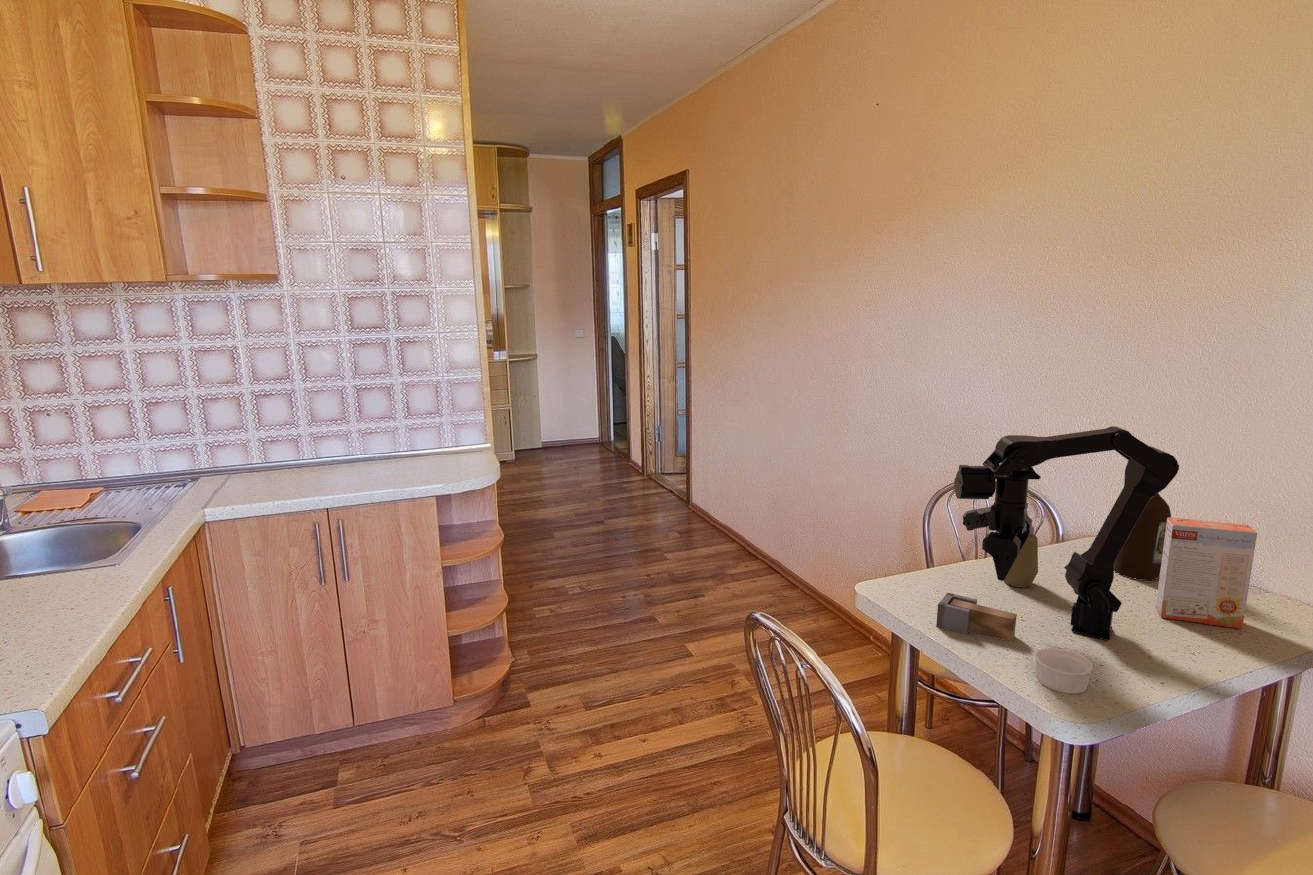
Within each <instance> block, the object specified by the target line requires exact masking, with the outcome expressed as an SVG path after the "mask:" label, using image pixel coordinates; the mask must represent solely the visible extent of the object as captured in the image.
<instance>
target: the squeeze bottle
mask: <svg viewBox="0 0 1313 875" xmlns="http://www.w3.org/2000/svg"><path fill="white" fill-rule="evenodd" d="M1026 515H1027V516H1029V514H1028V509H1027V510H1026ZM1024 531H1026V529H1025V530H1024ZM1034 532H1035V526H1034V525H1033V524H1032V529H1031V531H1030V534H1029V536H1028V538H1027V539H1026V541H1025V543H1024V545H1023V547H1022V549H1021V550H1020V552H1019V554H1018V556H1017V558H1016V560H1015V561H1014V563H1013V565H1012V567H1011V568H1010V570H1009V572H1008V574H1007V576H1006V578H1005V580H1004V581H1003V582H1004V583H1005V584H1007V585H1008V586H1013V587H1016V588H1028V587H1031V586H1032V584H1033V582H1034V581H1035V578H1036V576H1037V575H1038V572H1039V552H1038V550H1039V546H1038V542H1039V540H1038V536H1037V535H1036V534H1034Z"/></svg>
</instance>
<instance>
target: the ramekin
mask: <svg viewBox="0 0 1313 875" xmlns="http://www.w3.org/2000/svg"><path fill="white" fill-rule="evenodd" d="M1034 658H1035V668H1036V669H1035V674H1036V678H1037V680H1038V682H1039V683H1040V684H1042V685H1043V686H1044V687H1045V688H1048V689H1050V690H1053V691H1055V692H1059V693H1061V694H1062V693H1063V694H1068V695H1070V694H1071V695H1075V694H1077V695H1078V694H1081V693H1083V692H1085V691H1086V690H1087V689H1088V686H1089V682H1090V677H1091V674H1092V672H1093V669H1094V666H1093V664H1092V662H1091V661H1090V660H1089V659H1088V658H1086V656H1085V657H1084V656H1083V655H1081V654H1079V653H1076V652H1073V651H1071V650H1066V649H1063V648H1056V647H1055V648H1052V647H1050V648H1049V647H1048V648H1044V649H1043V648H1042V649H1039V650H1038V651H1036V652H1035V655H1034Z"/></svg>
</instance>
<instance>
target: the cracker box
mask: <svg viewBox="0 0 1313 875" xmlns="http://www.w3.org/2000/svg"><path fill="white" fill-rule="evenodd" d="M1257 536H1258V532H1257V531H1256V530H1255V529H1253V528H1252V526H1250V525H1249V524H1244V523H1243V524H1242V523H1231V522H1223V521H1221V522H1220V521H1213V520H1211V521H1209V520H1202V519H1201V520H1198V519H1189V518H1181V517H1180V518H1179V517H1171V518H1169V517H1168V518H1167V524H1166V532H1165V539H1164V547H1163V555H1162V563H1161V569H1160V575H1159V578H1158V579H1159V580H1158V587H1157V594H1156V604H1155V609H1156V610H1157V612H1158V614H1159V616H1160V618H1162V619H1167V618H1169V619H1168V620H1175V619H1176V621H1182V620H1185V621H1184V622H1189V621H1191V622H1190V623H1196V622H1198V623H1197V624H1203V623H1204V624H1205V625H1211V626H1217V627H1218V626H1219V627H1226V628H1231V629H1240V630H1242V629H1243V626H1244V620H1245V613H1246V607H1247V601H1248V595H1249V594H1248V593H1249V588H1250V581H1251V577H1252V576H1251V575H1252V570H1253V562H1254V557H1255V556H1254V555H1255V549H1256V543H1257V539H1258V538H1257Z"/></svg>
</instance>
